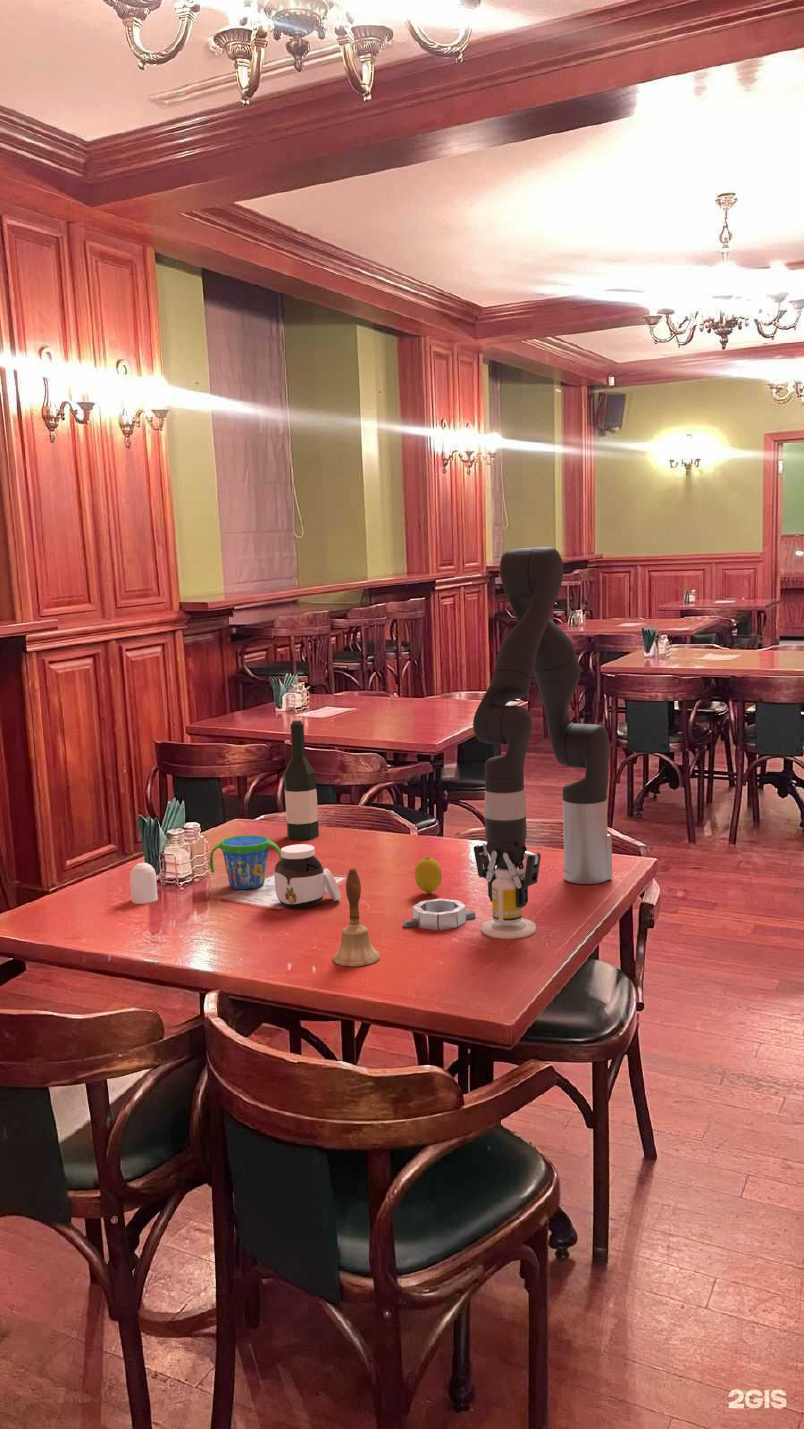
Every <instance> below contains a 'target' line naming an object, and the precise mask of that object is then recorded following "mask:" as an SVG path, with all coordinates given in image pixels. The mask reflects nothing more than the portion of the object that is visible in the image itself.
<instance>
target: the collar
mask: <svg viewBox="0 0 804 1429" xmlns="http://www.w3.org/2000/svg"><path fill="white" fill-rule="evenodd" d="M466 908H467V907H466V905H465V904H464V903H463V902H462V901H460V900H457V899H448V898H435V899H426V900H422V901H421V900H420V901H419V902H418V903H416V904H414V905H413V906H412V915H413V916H412V918H410V919H409V918H408V919H404V920H402V921H403V927H405V929H407V928H409V929H410V928H415V927H418V928H419V929H425V930H433V931H444V930H449V929H456V928H459V927H461V926H462V925H463V924H465V923H466V922H467V920H470V919H471V920H472V919H476V912H475V911H474V910H468V911H467V910H466Z"/></svg>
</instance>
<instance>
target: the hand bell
mask: <svg viewBox="0 0 804 1429" xmlns="http://www.w3.org/2000/svg"><path fill="white" fill-rule="evenodd" d="M345 881H346V882H345V891H346V898H347V900H348V904H349V924H348V925H347V926H345V927H344V928H343V929H342V931H341V941H340V946H339V948H338V949H337V952H335V953H334V955H333V957H332V962H333V963H335V965H338V966H342V967H350V968H351V967H363V966H368V965H371V964H374V963H376V962H378V961H379V960H380V958H381V955H380V953H379V951H377V950H376V949H375V948H374V946H373V945H372V942H371V939H370V936H369V930H368V927H366V926H365V925H363V924H361V923H360V911H359V904H360V900H361V892H362V887H361V884H362V883H361V880H360V877H359V875H358V871H357V869H356V868H349V870H348V874H347V877H346V880H345Z"/></svg>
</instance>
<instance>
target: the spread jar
mask: <svg viewBox="0 0 804 1429" xmlns="http://www.w3.org/2000/svg"><path fill="white" fill-rule="evenodd" d="M280 851H281V856H282V858H281V859H280V860H278V861H277V863H276V864H275V866H274V888H275V895H276V897H277V899H278V901H279V903H280V904H281V905H282V906H284V907H285V908H287V909H294V910H301V909H309V908H312V907H316V905H318V904H319V903H320V902H322V900H323V898H324V897H325V892H327V894H328V895H329V897H330V898H331V899H332V901H333V902H337V901H338V900H341V899H342V893H341V891H340V888H339V886H338V883H337V881H336V878H334V874H332V871H330V870H329V869H328V868H327V867H326V868H324V866H323V865H322V863H321V861H320V860H319V858H318V857H316V855H315V854H316V850H315V846H313V845H312V844H303V843H302V844H299V843H298V844H290V845H287V846H283V847H282V848H280Z"/></svg>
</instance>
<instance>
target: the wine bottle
mask: <svg viewBox="0 0 804 1429" xmlns="http://www.w3.org/2000/svg"><path fill="white" fill-rule="evenodd" d="M304 726H305V725H304V723H303V721H302V720H300V719H295V720H292V721H291V723H290V739H291V758H290V760H289V763H288V764H287V766H286V768H285V769H284V772H283V781H284V783H283V784H284V797H285V799H284V800H285V802H284V803H285V815H286V817H285V818H286V834H287V836H288V837H287V839H288V840H292V841H308V840H307V839H309V840H313V839H312V838H314V837H316V838H318V837H317V836H319V837H320V834H319V833H320V832H319V829H320V828H319V814H318V812H319V810H318V792H317V775H316V771H315V770H314V768H313V766H312V765H311V763H310V761H309V760H308V758H307V757H306V747H305V746H306V745H305V743H306V742H305V729H304V728H305V727H304ZM314 839H315V838H314Z"/></svg>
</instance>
